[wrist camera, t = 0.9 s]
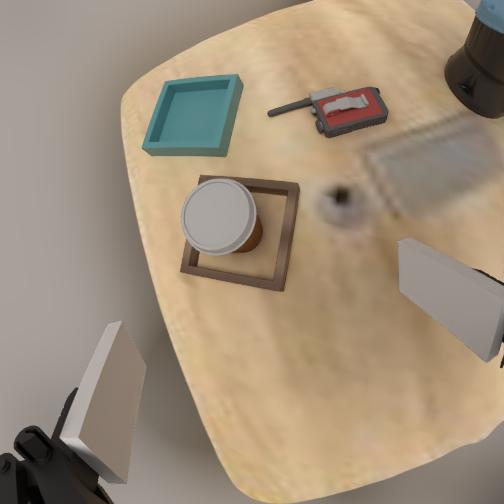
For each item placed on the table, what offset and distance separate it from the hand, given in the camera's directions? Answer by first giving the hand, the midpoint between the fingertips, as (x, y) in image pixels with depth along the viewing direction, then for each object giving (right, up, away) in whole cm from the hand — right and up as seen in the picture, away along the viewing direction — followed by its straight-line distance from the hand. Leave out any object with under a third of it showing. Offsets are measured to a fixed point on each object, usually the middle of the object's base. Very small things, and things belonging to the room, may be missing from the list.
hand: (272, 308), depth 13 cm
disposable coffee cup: (-2, +5, +33) cm, 34 cm away
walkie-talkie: (+12, +25, +32) cm, 43 cm away
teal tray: (-11, +27, +38) cm, 48 cm away
